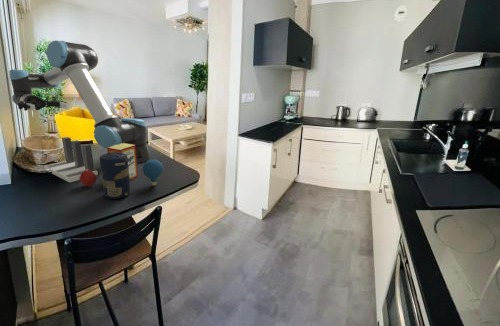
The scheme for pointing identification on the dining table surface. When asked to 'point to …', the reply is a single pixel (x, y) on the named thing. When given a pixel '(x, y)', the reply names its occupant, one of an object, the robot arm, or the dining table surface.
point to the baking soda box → (131, 154)
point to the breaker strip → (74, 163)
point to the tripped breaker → (68, 149)
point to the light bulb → (153, 170)
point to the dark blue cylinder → (115, 175)
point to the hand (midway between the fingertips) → (51, 107)
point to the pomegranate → (88, 178)
